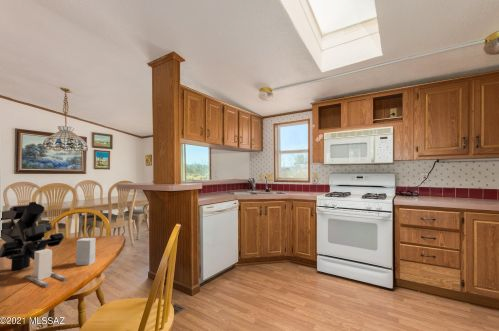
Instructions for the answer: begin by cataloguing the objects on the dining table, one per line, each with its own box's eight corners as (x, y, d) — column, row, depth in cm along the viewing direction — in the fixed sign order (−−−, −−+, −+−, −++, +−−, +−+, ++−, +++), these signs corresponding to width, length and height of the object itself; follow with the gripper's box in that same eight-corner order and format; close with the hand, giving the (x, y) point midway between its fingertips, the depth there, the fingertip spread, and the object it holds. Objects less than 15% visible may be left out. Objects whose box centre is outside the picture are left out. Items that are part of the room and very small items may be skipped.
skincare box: (95, 264, 106) (96, 237, 107) (89, 268, 102) (90, 240, 103) (81, 264, 106) (82, 237, 107) (75, 268, 102) (76, 240, 102)
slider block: (33, 278, 89) (34, 251, 89) (46, 274, 92) (47, 248, 93) (38, 280, 87) (39, 253, 87) (51, 276, 91) (52, 250, 91)
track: (23, 280, 89) (23, 274, 89) (45, 274, 96) (46, 268, 96) (44, 291, 81) (44, 285, 82) (67, 283, 88) (67, 277, 88)
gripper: (3, 221, 86) (14, 256, 80) (62, 214, 103) (75, 243, 97) (-6, 240, 89) (4, 275, 84) (53, 230, 106) (64, 259, 100)
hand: (40, 261), depth 91 cm, fingers closed
